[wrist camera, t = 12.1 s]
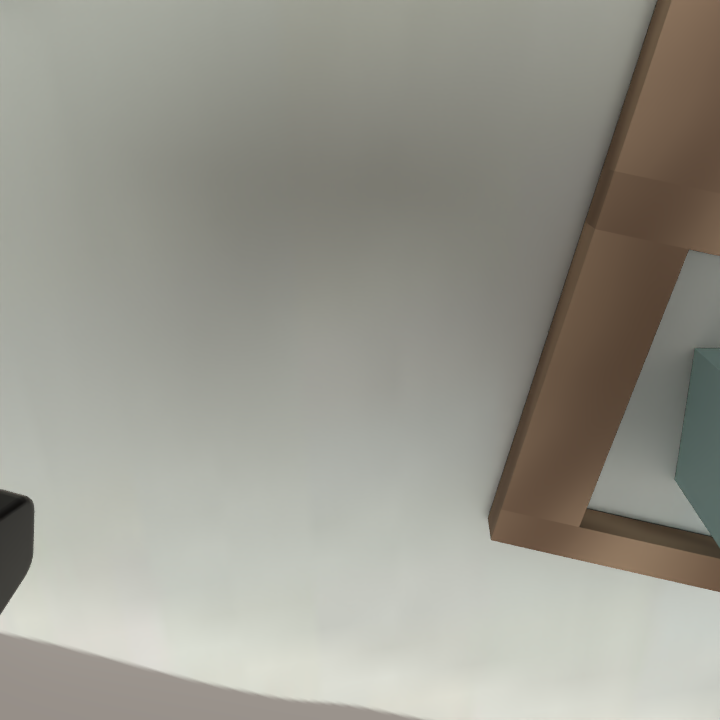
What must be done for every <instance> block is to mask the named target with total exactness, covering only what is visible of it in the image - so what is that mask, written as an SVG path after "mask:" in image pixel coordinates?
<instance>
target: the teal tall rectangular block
mask: <svg viewBox="0 0 720 720" xmlns="http://www.w3.org/2000/svg"><path fill="white" fill-rule="evenodd" d="M675 481H676V483H677V484H678V486H679V487H680V489H681V490H682V492H683V493H684V495H685V496H686V498H687V499H688V501H689V502H690V504H691V505H692V507H693V508H694V510H695V511H696V513H697V514H698V516H699V517H700V519H701V520H702V522H703V523H704V525H705V527H706V528H707V530H708V531H709V533H710V534H711V536H712V537H713V539H714V540H715V542H716V543H717V545H718V546H719V548H720V348H695V352H694V358H693V365H692V371H691V378H690V384H689V391H688V397H687V404H686V410H685V417H684V423H683V430H682V436H681V443H680V449H679V456H678V462H677V469H676V475H675Z"/></svg>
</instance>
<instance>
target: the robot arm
mask: <svg viewBox="0 0 720 720" xmlns="http://www.w3.org/2000/svg"><path fill="white" fill-rule="evenodd" d="M33 544H34V504H33V501H32V500H31V499H30V498H29V497H27V496H24V495H21V494H17V493H13V492H10V491H6V490H2V489H0V614H1V613H2V611H3V610H4V608H5V607H6V605H7V604H8V602H9V601H10V599H11V597H12V596H13V594H14V593H15V591H16V590H17V588H18V587H19V585H20V584H21V582H22V580H23V579H24V577H25V576H26V574H27V572H28V570H29V568H30V565H31V562H32V558H33Z"/></svg>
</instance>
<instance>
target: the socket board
mask: <svg viewBox="0 0 720 720" xmlns="http://www.w3.org/2000/svg"><path fill="white" fill-rule="evenodd" d="M689 249H690V250H695V251H699V252H704V253H709V254H713V255H718V256H720V0H658V1H657V4H656V7H655V10H654V13H653V16H652V19H651V22H650V25H649V28H648V31H647V34H646V37H645V40H644V43H643V46H642V49H641V52H640V56H639V59H638V62H637V65H636V68H635V71H634V74H633V77H632V80H631V83H630V86H629V89H628V92H627V95H626V98H625V101H624V104H623V107H622V110H621V114H620V117H619V120H618V123H617V126H616V129H615V132H614V135H613V138H612V141H611V144H610V147H609V150H608V153H607V156H606V159H605V162H604V165H603V168H602V171H601V175H600V178H599V181H598V184H597V187H596V190H595V193H594V196H593V199H592V202H591V205H590V208H589V211H588V214H587V217H586V220H585V223H584V226H583V229H582V233H581V236H580V239H579V242H578V245H577V248H576V251H575V254H574V257H573V260H572V263H571V266H570V269H569V272H568V275H567V278H566V281H565V284H564V287H563V290H562V294H561V297H560V300H559V303H558V306H557V309H556V312H555V315H554V318H553V321H552V324H551V327H550V330H549V333H548V336H547V339H546V342H545V345H544V348H543V352H542V355H541V358H540V361H539V364H538V367H537V370H536V373H535V376H534V379H533V382H532V385H531V388H530V391H529V394H528V397H527V400H526V403H525V406H524V410H523V413H522V416H521V419H520V422H519V425H518V428H517V431H516V434H515V437H514V440H513V443H512V446H511V449H510V452H509V455H508V458H507V461H506V464H505V467H504V471H503V474H502V477H501V480H500V483H499V486H498V489H497V492H496V495H495V498H494V501H493V504H492V507H491V510H490V513H489V516H488V522H489V529H490V536H491V540H493V541H498V542H502V543H506V544H511V545H515V546H520V547H524V548H528V549H533V550H537V551H542V552H546V553H550V554H555V555H559V556H564V557H568V558H572V559H577V560H581V561H586V562H590V563H594V564H599V565H603V566H608V567H612V568H616V569H621V570H625V571H630V572H634V573H638V574H643V575H647V576H652V577H656V578H660V579H665V580H669V581H674V582H678V583H682V584H687V585H691V586H696V587H700V588H705V589H709V590H713V591H718V592H720V548H719V546H718V545H717V543H716V542H715V540H714V539H713V537H710V536H705V535H701V534H696V533H692V532H688V531H683V530H679V529H674V528H670V527H665V526H661V525H656V524H652V523H648V522H643V521H639V520H634V519H630V518H625V517H621V516H616V515H612V514H608V513H603V512H599V511H594V510H590V509H587V506H588V504H589V501H590V498H591V496H592V493H593V491H594V488H595V486H596V483H597V481H598V478H599V476H600V473H601V471H602V468H603V466H604V463H605V461H606V458H607V455H608V453H609V450H610V448H611V445H612V443H613V440H614V438H615V435H616V433H617V430H618V428H619V425H620V423H621V420H622V418H623V415H624V413H625V410H626V407H627V405H628V402H629V400H630V397H631V395H632V392H633V390H634V387H635V385H636V382H637V380H638V377H639V375H640V372H641V370H642V367H643V364H644V362H645V359H646V357H647V354H648V352H649V349H650V347H651V344H652V342H653V339H654V337H655V334H656V332H657V329H658V327H659V324H660V322H661V319H662V316H663V314H664V311H665V309H666V306H667V304H668V301H669V299H670V296H671V294H672V291H673V289H674V286H675V284H676V281H677V279H678V276H679V273H680V271H681V268H682V266H683V263H684V261H685V258H686V256H687V253H688V251H689Z"/></svg>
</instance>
